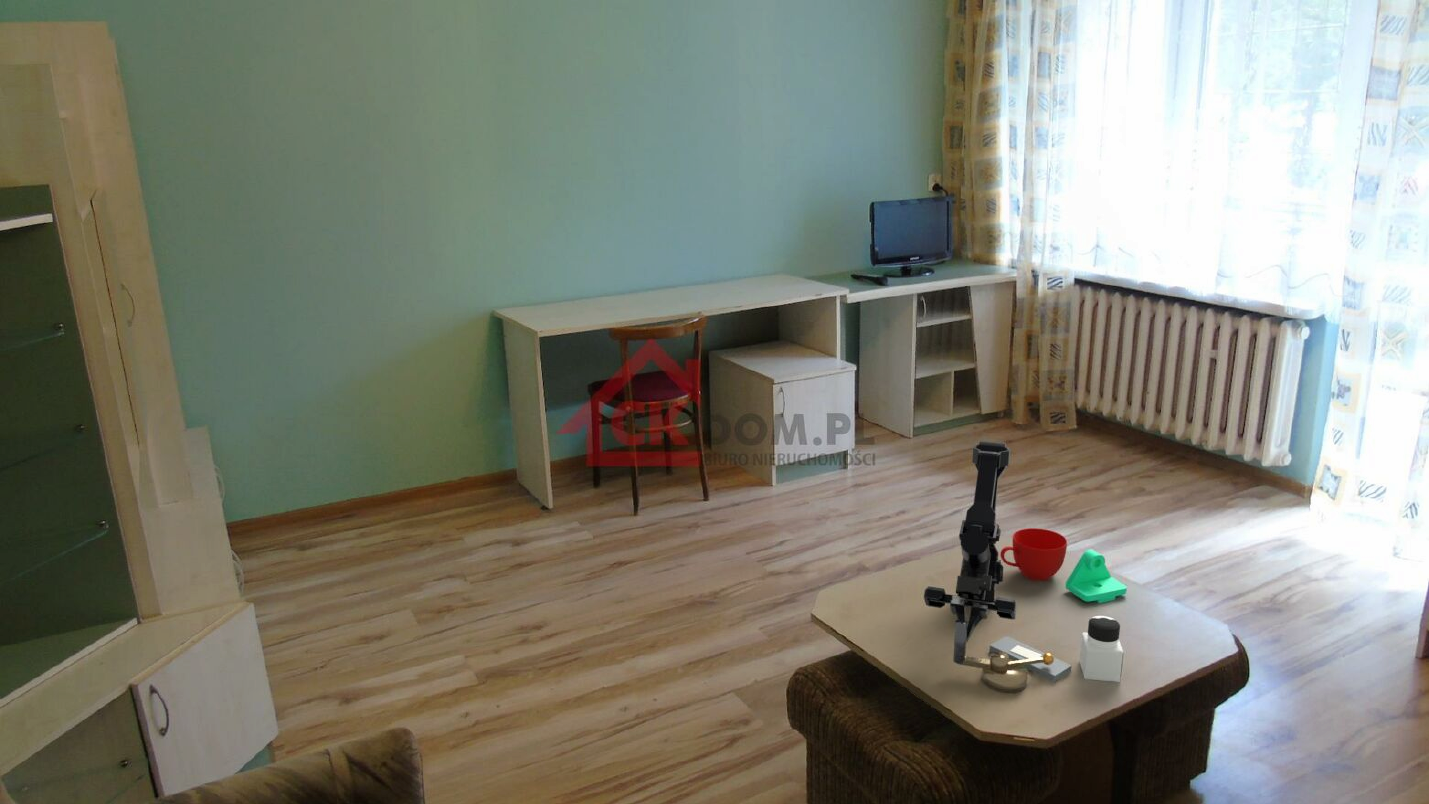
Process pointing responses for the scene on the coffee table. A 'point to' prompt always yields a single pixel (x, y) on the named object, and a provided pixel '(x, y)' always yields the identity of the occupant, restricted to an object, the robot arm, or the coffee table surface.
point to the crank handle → (995, 664)
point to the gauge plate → (1024, 651)
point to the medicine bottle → (1101, 650)
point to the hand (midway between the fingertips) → (964, 642)
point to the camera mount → (1094, 579)
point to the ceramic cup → (1037, 553)
